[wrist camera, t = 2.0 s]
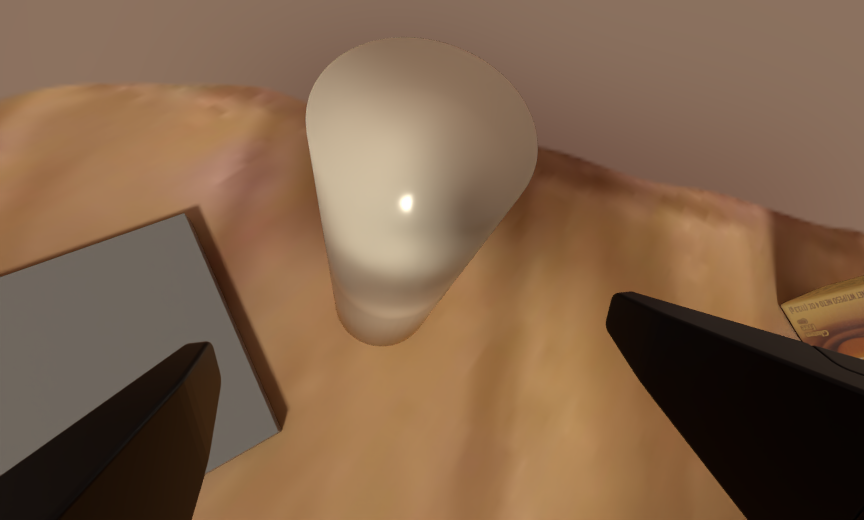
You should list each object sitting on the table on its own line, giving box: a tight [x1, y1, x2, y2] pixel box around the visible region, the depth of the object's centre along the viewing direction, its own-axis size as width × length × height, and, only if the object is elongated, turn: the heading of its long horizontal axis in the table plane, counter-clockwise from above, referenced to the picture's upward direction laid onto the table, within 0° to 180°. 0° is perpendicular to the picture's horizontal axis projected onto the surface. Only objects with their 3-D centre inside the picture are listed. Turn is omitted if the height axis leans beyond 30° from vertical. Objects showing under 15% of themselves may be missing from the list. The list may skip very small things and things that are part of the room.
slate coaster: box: [0, 213, 281, 476], centre depth 16 cm, size 11×11×1 cm
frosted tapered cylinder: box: [306, 37, 538, 346], centre depth 14 cm, size 5×5×13 cm
